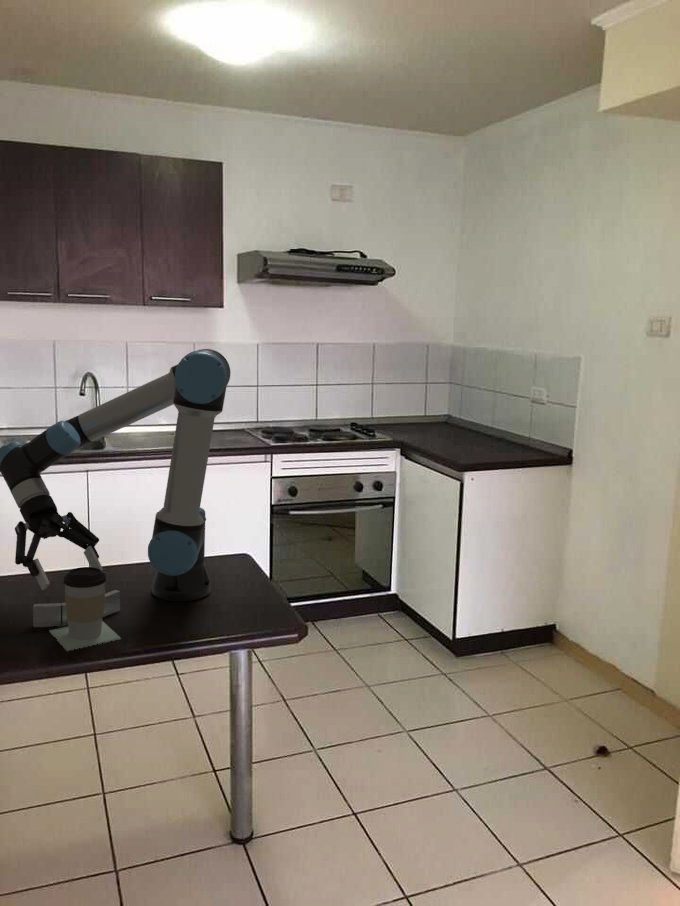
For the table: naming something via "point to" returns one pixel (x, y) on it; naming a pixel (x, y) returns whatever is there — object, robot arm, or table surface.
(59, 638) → the mat
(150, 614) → the table surface
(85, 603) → the coffee cup
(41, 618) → the bent rail
